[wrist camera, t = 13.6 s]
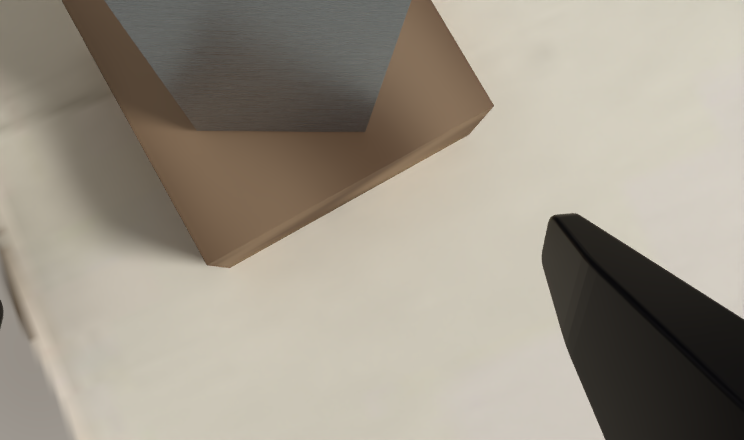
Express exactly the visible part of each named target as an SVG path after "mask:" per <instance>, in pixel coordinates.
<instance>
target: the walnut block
mask: <svg viewBox="0 0 744 440" xmlns="http://www.w3.org/2000/svg"><path fill="white" fill-rule="evenodd" d="M62 2H63V4H64V5H65V7H66V9H67V11H68V13H69V15H70V16H71V18H72V20H73V22H74V24H75V26H76V27H77V29H78V31H79V33H80V35H81V36H82V38H83V40H84V42H85V44H86V46H87V47H88V49H89V51H90V53H91V55H92V56H93V58H94V60H95V62H96V64H97V66H98V67H99V69H100V71H101V73H102V75H103V77H104V78H105V80H106V82H107V84H108V86H109V87H110V89H111V91H112V93H113V95H114V97H115V98H116V100H117V102H118V104H119V106H120V108H121V109H122V111H123V113H124V115H125V117H126V118H127V120H128V122H129V124H130V126H131V128H132V129H133V131H134V133H135V135H136V137H137V139H138V140H139V142H140V144H141V146H142V148H143V149H144V151H145V153H146V155H147V157H148V159H149V160H150V162H151V164H152V166H153V168H154V170H155V171H156V173H157V175H158V177H159V179H160V180H161V182H162V184H163V186H164V188H165V190H166V191H167V193H168V195H169V197H170V199H171V201H172V202H173V204H174V206H175V208H176V210H177V211H178V213H179V215H180V217H181V219H182V221H183V222H184V224H185V226H186V228H187V230H188V232H189V233H190V235H191V237H192V239H193V241H194V242H195V244H196V246H197V248H198V250H199V252H200V253H201V255H202V257H203V259H204V261H205V263H206V264H207V265H210V266H218V267H226V268H230V267H232V266H234V265H236V264H238V263H239V262H241V261H243V260H245V259H247V258H248V257H250V256H252V255H254V254H256V253H257V252H259V251H261V250H263V249H264V248H266V247H268V246H270V245H272V244H273V243H275V242H277V241H279V240H281V239H282V238H284V237H286V236H288V235H290V234H291V233H293V232H295V231H297V230H299V229H300V228H302V227H304V226H306V225H308V224H309V223H311V222H313V221H315V220H316V219H318V218H320V217H322V216H324V215H325V214H327V213H329V212H331V211H333V210H334V209H336V208H338V207H340V206H342V205H343V204H345V203H347V202H349V201H351V200H352V199H354V198H356V197H358V196H360V195H361V194H363V193H365V192H367V191H368V190H370V189H372V188H374V187H376V186H377V185H379V184H381V183H383V182H385V181H386V180H388V179H390V178H392V177H394V176H395V175H397V174H399V173H401V172H403V171H404V170H406V169H408V168H410V167H412V166H413V165H415V164H417V163H419V162H420V161H422V160H424V159H426V158H428V157H429V156H431V155H433V154H435V153H437V152H438V151H440V150H442V149H444V148H446V147H447V146H449V145H451V144H453V143H455V142H456V141H458V140H460V139H462V138H464V137H465V136H467V135H469V134H470V133H471V132H472V130H473V129H474V128H475V127H476V126H477V125H478V124H479V122H480V121H481V120H482V119H483V118H484V117H485V116H486V114H487V113H488V112H489V111H490V110H491V109H492V108H493V106H494V105H493V103H492V102H491V100H490V98H489V97H488V95H487V93H486V92H485V90H484V88H483V87H482V85H481V83H480V81H479V80H478V78H477V76H476V75H475V73H474V71H473V70H472V68H471V66H470V65H469V63H468V61H467V60H466V58H465V56H464V55H463V53H462V51H461V50H460V48H459V46H458V45H457V43H456V41H455V40H454V38H453V36H452V35H451V33H450V31H449V30H448V28H447V26H446V25H445V23H444V21H443V19H442V18H441V16H440V14H439V13H438V11H437V9H436V8H435V6H434V4H433V3H432V1H431V0H411V3H410V6H409V9H408V11H407V14H406V17H405V20H404V23H403V26H402V29H401V31H400V34H399V37H398V40H397V43H396V46H395V48H394V51H393V54H392V57H391V60H390V63H389V66H388V68H387V71H386V74H385V77H384V80H383V83H382V85H381V88H380V91H379V94H378V97H377V100H376V103H375V105H374V108H373V111H372V114H371V117H370V120H369V122H368V125H367V128H366V131H365V132H293V131H197V130H196V129H195V127H194V126H193V124H192V123H191V122H190V120H189V119H188V117H187V116H186V114H185V113H184V112H183V110H182V109H181V107H180V106H179V105H178V103H177V102H176V100H175V99H174V98H173V96H172V95H171V93H170V92H169V91H168V89H167V88H166V86H165V85H164V84H163V82H162V81H161V79H160V78H159V77H158V75H157V74H156V72H155V71H154V70H153V68H152V67H151V65H150V64H149V63H148V61H147V60H146V58H145V57H144V56H143V54H142V53H141V51H140V50H139V49H138V47H137V46H136V44H135V43H134V42H133V40H132V39H131V37H130V36H129V35H128V33H127V32H126V30H125V29H124V28H123V26H122V25H121V23H120V22H119V20H118V19H117V18H116V16H115V15H114V13H113V12H112V11H111V9H110V8H109V6H108V5H107V4H106V2H105V1H104V0H62Z"/></svg>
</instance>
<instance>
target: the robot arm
mask: <svg viewBox="0 0 744 440" xmlns="http://www.w3.org/2000/svg"><path fill="white" fill-rule="evenodd" d="M542 265H543V269H544V272H545V276H546V279H547V283H548V286H549V290H550V293H551V297H552V300H553V304H554V307H555V310H556V314H557V317H558V321H559V324H560V328H561V331H562V335H563V338H564V341H565V344H566V347H567V349H568V352H569V354H570V357H571V360H572V362H573V364H574V367H575V369H576V371H577V374H578V376H579V378H580V381H581V383H582V386H583V388H584V390H585V393H586V395H587V397H588V400H589V402H590V404H591V407H592V409H593V412H594V414H595V416H596V419H597V421H598V423H599V426H600V428H601V430H602V433H603V435H604V438H605V440H744V319H742V318H741V317H739V316H738V315H736V314H735V313H733V312H731V311H730V310H728V309H727V308H725V307H724V306H722V305H720V304H719V303H717V302H716V301H714V300H713V299H711V298H709V297H708V296H706V295H705V294H703V293H701V292H700V291H698V290H697V289H695V288H694V287H692V286H690V285H689V284H687V283H686V282H684V281H683V280H681V279H679V278H678V277H676V276H675V275H673V274H672V273H670V272H668V271H667V270H665V269H664V268H662V267H661V266H659V265H657V264H656V263H654V262H653V261H651V260H650V259H648V258H646V257H645V256H643V255H642V254H640V253H639V252H637V251H635V250H634V249H632V248H631V247H629V246H628V245H626V244H624V243H623V242H621V241H620V240H618V239H617V238H615V237H613V236H612V235H610V234H609V233H607V232H606V231H604V230H602V229H601V228H599V227H598V226H596V225H594V224H593V223H591V222H590V221H588V220H587V219H585V218H583V217H582V216H580V215H578V214H575V213H570V214H559V215H554V216H552V217H551V218H550V220H549V222H548V226H547V231H546V236H545V240H544V245H543V250H542ZM2 319H3V306H2V303H1V300H0V328H1V324H2Z"/></svg>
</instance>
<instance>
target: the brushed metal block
mask: <svg viewBox="0 0 744 440" xmlns="http://www.w3.org/2000/svg"><path fill="white" fill-rule="evenodd" d="M104 1H105V2H106V4H107V5H108V6H109V8H110V9H111V11H112V12H113V13H114V15H115V16H116V18H117V19H118V20H119V22H120V23H121V25H122V26H123V28H124V29H125V30H126V32H127V33H128V35H129V36H130V37H131V39H132V40H133V42H134V43H135V44H136V46H137V47H138V49H139V50H140V51H141V53H142V54H143V56H144V57H145V58H146V60H147V61H148V63H149V64H150V65H151V67H152V68H153V70H154V71H155V72H156V74H157V75H158V77H159V78H160V79H161V81H162V82H163V84H164V85H165V86H166V88H167V89H168V91H169V92H170V93H171V95H172V96H173V98H174V99H175V100H176V102H177V103H178V105H179V106H180V107H181V109H182V110H183V112H184V113H185V114H186V116H187V117H188V119H189V120H190V122H191V123H192V124H193V126H194V127H195V129H196V130H197V131H293V132H365V131H366V128H367V125H368V122H369V120H370V117H371V114H372V111H373V108H374V105H375V103H376V100H377V97H378V94H379V91H380V88H381V85H382V83H383V80H384V77H385V74H386V71H387V68H388V66H389V63H390V60H391V57H392V54H393V51H394V48H395V46H396V43H397V40H398V37H399V34H400V31H401V29H402V26H403V23H404V20H405V17H406V14H407V11H408V9H409V6H410V3H411V0H104Z"/></svg>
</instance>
